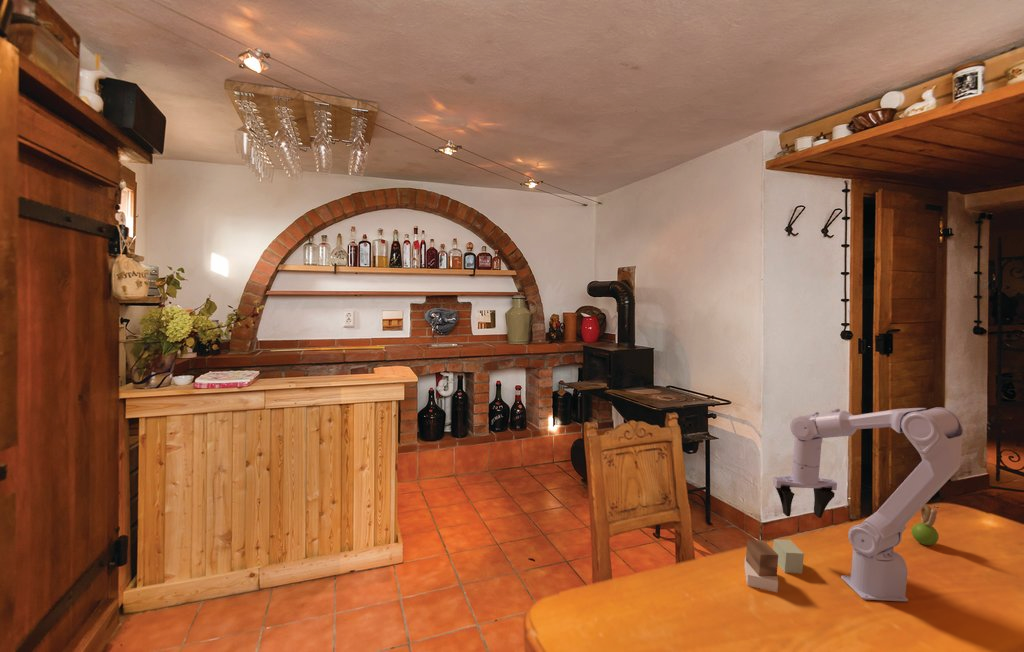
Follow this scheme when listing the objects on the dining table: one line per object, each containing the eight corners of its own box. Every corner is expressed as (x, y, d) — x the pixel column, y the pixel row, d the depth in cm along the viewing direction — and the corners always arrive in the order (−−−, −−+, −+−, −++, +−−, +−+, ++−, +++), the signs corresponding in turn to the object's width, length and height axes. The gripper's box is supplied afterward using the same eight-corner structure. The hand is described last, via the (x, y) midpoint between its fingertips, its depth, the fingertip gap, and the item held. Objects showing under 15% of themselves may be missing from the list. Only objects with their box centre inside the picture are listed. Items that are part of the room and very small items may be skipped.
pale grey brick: (772, 574, 114) (773, 562, 113) (777, 594, 106) (778, 581, 106) (744, 568, 116) (745, 556, 115) (747, 587, 108) (747, 574, 108)
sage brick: (788, 559, 119) (790, 540, 119) (802, 573, 113) (803, 553, 113) (772, 558, 120) (773, 539, 119) (784, 572, 114) (786, 552, 113)
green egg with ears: (918, 549, 125) (923, 504, 124) (906, 536, 131) (910, 494, 130) (944, 553, 123) (949, 508, 122) (930, 540, 129) (935, 497, 128)
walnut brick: (762, 560, 114) (764, 540, 113) (776, 576, 108) (778, 555, 107) (745, 560, 114) (747, 540, 113) (758, 575, 108) (760, 554, 107)
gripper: (826, 458, 124) (822, 509, 125) (768, 456, 124) (765, 506, 126) (844, 468, 117) (839, 522, 118) (782, 466, 117) (778, 519, 118)
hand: (802, 515), depth 121 cm, fingers open, 7 cm apart
